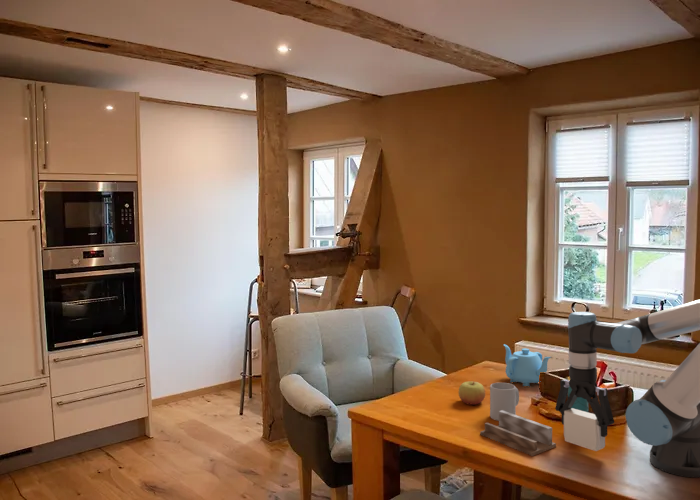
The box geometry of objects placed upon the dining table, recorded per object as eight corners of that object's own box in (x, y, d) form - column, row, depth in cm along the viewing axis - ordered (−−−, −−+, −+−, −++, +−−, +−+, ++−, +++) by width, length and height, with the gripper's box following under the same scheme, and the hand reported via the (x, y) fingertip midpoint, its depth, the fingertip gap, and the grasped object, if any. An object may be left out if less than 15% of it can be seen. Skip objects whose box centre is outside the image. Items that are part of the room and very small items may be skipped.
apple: (486, 407, 206) (486, 386, 206) (458, 406, 208) (458, 385, 207) (484, 398, 216) (484, 378, 215) (458, 398, 217) (458, 377, 217)
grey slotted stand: (555, 446, 171) (555, 427, 170) (532, 456, 165) (532, 435, 164) (503, 426, 187) (503, 409, 187) (480, 434, 181) (480, 416, 181)
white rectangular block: (604, 447, 163) (603, 416, 162) (595, 451, 161) (595, 419, 160) (573, 437, 171) (572, 408, 171) (564, 440, 169) (564, 410, 168)
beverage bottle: (578, 426, 186) (578, 366, 185) (593, 433, 180) (594, 371, 179) (562, 429, 184) (562, 368, 183) (577, 437, 178) (577, 374, 177)
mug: (503, 423, 190) (503, 391, 190) (484, 416, 197) (484, 385, 197) (527, 416, 197) (527, 385, 196) (508, 409, 204) (508, 379, 203)
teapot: (503, 375, 246) (503, 343, 245) (551, 378, 240) (551, 345, 239) (500, 386, 231) (500, 352, 230) (551, 390, 224) (551, 355, 224)
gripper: (627, 371, 158) (628, 450, 159) (557, 357, 176) (558, 427, 177) (612, 375, 153) (613, 456, 154) (541, 361, 172) (543, 433, 173)
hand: (584, 441), depth 166 cm, fingers closed on white rectangular block, 10 cm apart
